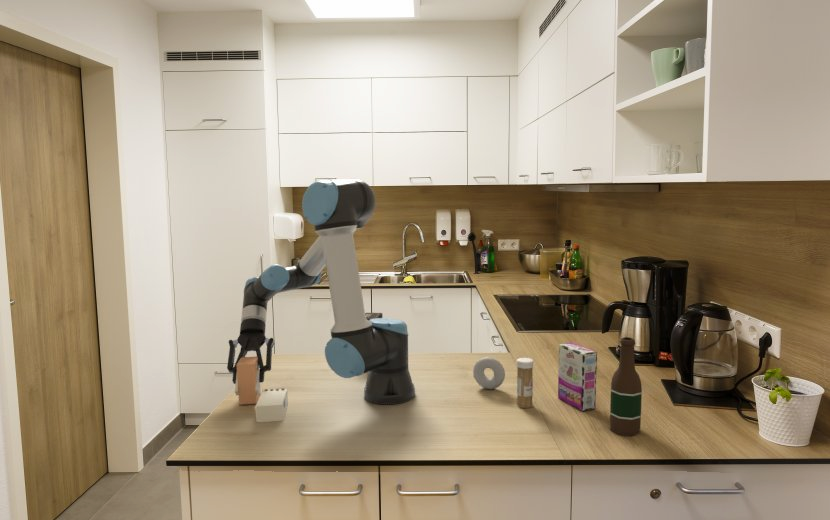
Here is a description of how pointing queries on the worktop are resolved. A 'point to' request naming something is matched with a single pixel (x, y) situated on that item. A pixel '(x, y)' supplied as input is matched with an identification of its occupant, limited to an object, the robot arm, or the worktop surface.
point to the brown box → (247, 380)
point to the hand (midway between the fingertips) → (247, 392)
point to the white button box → (272, 405)
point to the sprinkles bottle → (524, 382)
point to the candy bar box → (577, 376)
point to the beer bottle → (626, 393)
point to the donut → (497, 369)
